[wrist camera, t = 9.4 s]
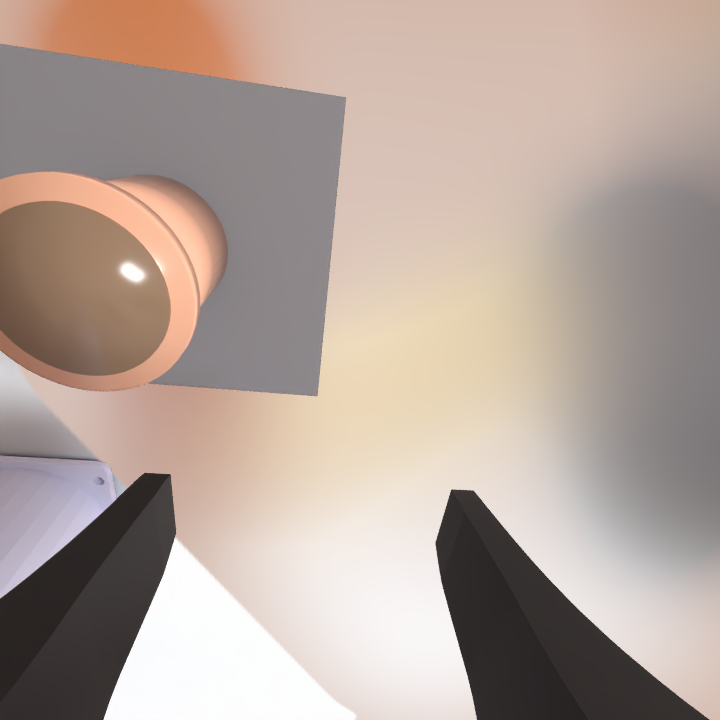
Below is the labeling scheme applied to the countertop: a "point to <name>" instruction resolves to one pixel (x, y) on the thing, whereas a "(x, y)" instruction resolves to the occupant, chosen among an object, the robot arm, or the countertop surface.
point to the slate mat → (203, 192)
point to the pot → (103, 275)
